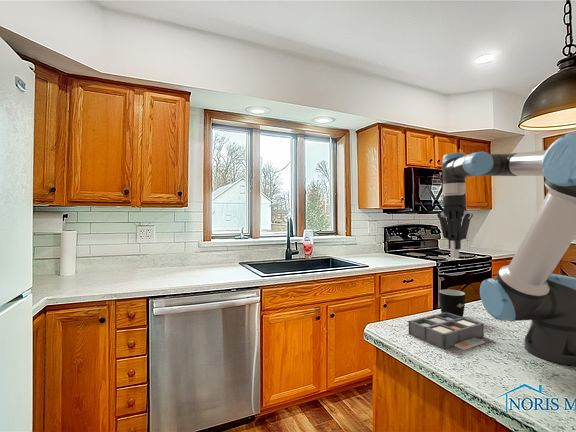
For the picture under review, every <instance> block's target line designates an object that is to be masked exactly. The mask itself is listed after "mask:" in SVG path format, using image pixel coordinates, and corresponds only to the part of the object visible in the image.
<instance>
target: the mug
mask: <svg viewBox="0 0 576 432" xmlns="http://www.w3.org/2000/svg"><path fill="white" fill-rule="evenodd" d="M438 299H439V307H440V312H441V313H444V312H448V313H451V314H454V315H457V316H461V317H464V315H465V314H464V313H465V306H466V305H465V304H466V293H465V292H464V291H461V290H456V289H440V290H439V292H438Z"/></svg>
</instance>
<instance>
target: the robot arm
mask: <svg viewBox="0 0 576 432" xmlns="http://www.w3.org/2000/svg"><path fill="white" fill-rule="evenodd" d="M441 167H442V168H441V169H442V195H444V196H443V197H442V205H443V208H442V212H440V213H437V215H436V216H437V218H438V219H439V223H440V228H441V232H442V236H443V238H444V239H446V240H448V248H449V249H450V259H459V258H460V250H461V247H462V244H461V243H462V240H466V239H467V235H468V231H469V227H470V223H471V219H472V218H473V216H474V214H473V213H470V212H468V211H467V208H466V204H467V203H466V201H467V198H466V197H467V196H466V195H465V194H466V193H467V192H466V188H467V187H466V185H467V184H466V181H467V180H466V178H469V177H470V178H471V177H519V176H520V177H521V176H522V177H524V176H525V177H526V176H527V177H528V176H529V177H530V176H531V177H532V176H533V177H535V176H544V178H545V181H544V182H543V184H544V185H545V188H546V189H547V190H548V191H547V193H546V195H545V197H544V199H543V201H542V203H541V205H540V207H539V208H538V210H537V212H536V214H535V216H534V218H533V220H532V222H531V223H530V225H529V227H528V230H527V232H526V233H525V235H524V237H523V239H522V241H521V242H520V245H519V246H518V248H517V250H516V251H515V254H514V255H513V257H512V259H511V261H510V263H509V265H504V266H501V267H500V268H499V270H498V272H497V274H496V276H495V277H494V278H486V279H484V280H483V281H482V282H481V284H480V285H479V286H480V287H479V298H480V299H481V303H482V305H483V308H484V309H485V310H486V312H487V313H488V315H490V316H491V317H492V318H494V319H495V320H497V321H503V322H517V321H519V322H520V321H521V322H522V321H531V324H530V325H529V328H528V330H527V332H526V334H525V337H524V341H523V342H524V343H523V345H524V349H525V350H526V351H527V352H528V353H530V354H532V355H534V356H536V357H538V358H541V359H542V360H546V361H549V362H553V363H556V364H561V365H565V366H572V367H576V277H573V276H570V275H569V276H567V275H563V274H556V273H553V272H554V271H555V269H556V267H558V264H559V263H560V261H561V259H562V258H563V257H564V255H565V253H566V252H567V250H568V248H569V246H570V245H571V244H572V242H573V241H574V239H575V237H576V130H575V131H571V132H568V133H566V134H563V135H561V136H560V137H559V138H557V139H555V140H554V141H553V142H552V143H551V144H550V145H549V146H548V147H547V149H546V150H545V149H544V150H534V151H526V152H514V153H488V152H486V151H478V152H477V151H476V152H472V153H469V154H467V155H466V154H465V153H464V152H450V153H446V154H444V155H443V157H442V165H441Z"/></svg>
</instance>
